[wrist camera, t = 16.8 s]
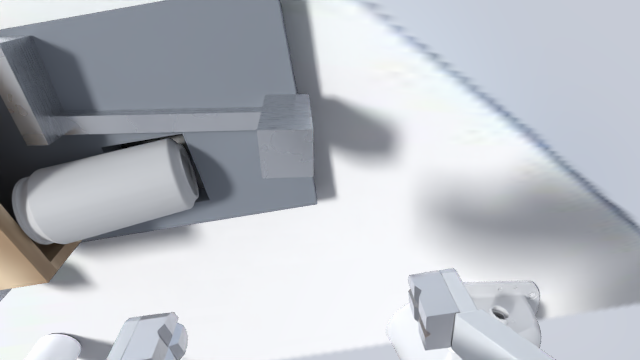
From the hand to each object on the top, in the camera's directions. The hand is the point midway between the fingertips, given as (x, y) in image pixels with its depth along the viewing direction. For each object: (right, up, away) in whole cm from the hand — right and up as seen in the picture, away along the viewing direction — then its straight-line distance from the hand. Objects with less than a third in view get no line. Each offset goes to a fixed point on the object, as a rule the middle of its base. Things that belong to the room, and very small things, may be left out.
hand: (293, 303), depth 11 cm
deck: (-17, +8, +18) cm, 27 cm away
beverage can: (-10, +5, +17) cm, 21 cm away
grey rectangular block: (-10, +11, +14) cm, 21 cm away
